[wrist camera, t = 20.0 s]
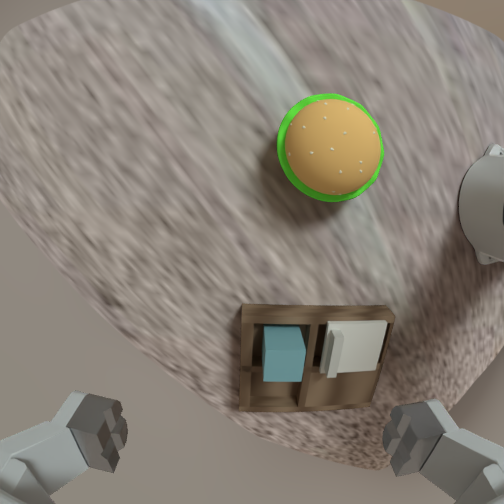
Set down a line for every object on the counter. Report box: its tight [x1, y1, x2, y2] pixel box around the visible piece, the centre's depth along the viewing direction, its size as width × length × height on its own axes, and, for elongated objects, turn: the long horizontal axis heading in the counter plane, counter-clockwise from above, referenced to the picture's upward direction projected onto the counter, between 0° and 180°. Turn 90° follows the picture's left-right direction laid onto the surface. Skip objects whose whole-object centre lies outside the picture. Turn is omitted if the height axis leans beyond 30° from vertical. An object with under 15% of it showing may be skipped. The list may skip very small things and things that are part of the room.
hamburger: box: [277, 94, 384, 202], centre depth 31 cm, size 12×12×9 cm
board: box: [239, 304, 395, 412], centre depth 41 cm, size 20×16×4 cm
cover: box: [319, 320, 387, 378], centre depth 37 cm, size 8×8×3 cm
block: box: [262, 324, 306, 382], centre depth 37 cm, size 4×4×7 cm
